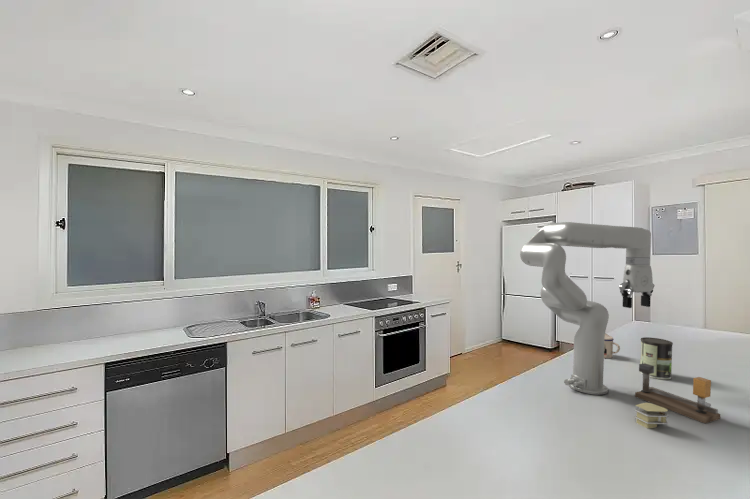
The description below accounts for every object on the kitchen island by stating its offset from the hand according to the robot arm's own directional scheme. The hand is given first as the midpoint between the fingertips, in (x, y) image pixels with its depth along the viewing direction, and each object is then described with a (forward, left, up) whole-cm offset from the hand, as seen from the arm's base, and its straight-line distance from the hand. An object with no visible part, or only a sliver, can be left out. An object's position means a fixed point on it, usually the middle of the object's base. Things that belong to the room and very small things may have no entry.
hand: (636, 306), depth 140 cm
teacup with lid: (+20, +26, -29) cm, 44 cm away
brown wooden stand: (-10, -19, -29) cm, 36 cm away
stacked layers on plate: (-30, -24, -29) cm, 48 cm away
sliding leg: (-9, -26, -27) cm, 38 cm away
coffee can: (+16, +2, -29) cm, 33 cm away
